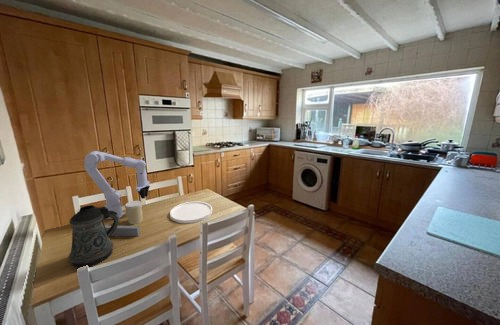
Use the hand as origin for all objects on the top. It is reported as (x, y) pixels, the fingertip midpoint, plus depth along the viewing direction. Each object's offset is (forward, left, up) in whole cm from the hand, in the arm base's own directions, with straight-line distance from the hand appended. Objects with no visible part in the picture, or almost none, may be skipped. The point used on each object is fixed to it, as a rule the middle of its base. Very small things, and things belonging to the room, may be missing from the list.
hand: (144, 197), depth 138 cm
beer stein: (-2, -44, -11) cm, 45 cm away
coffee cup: (0, -13, -11) cm, 17 cm away
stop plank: (0, -28, -10) cm, 30 cm away
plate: (+32, -1, -11) cm, 34 cm away
